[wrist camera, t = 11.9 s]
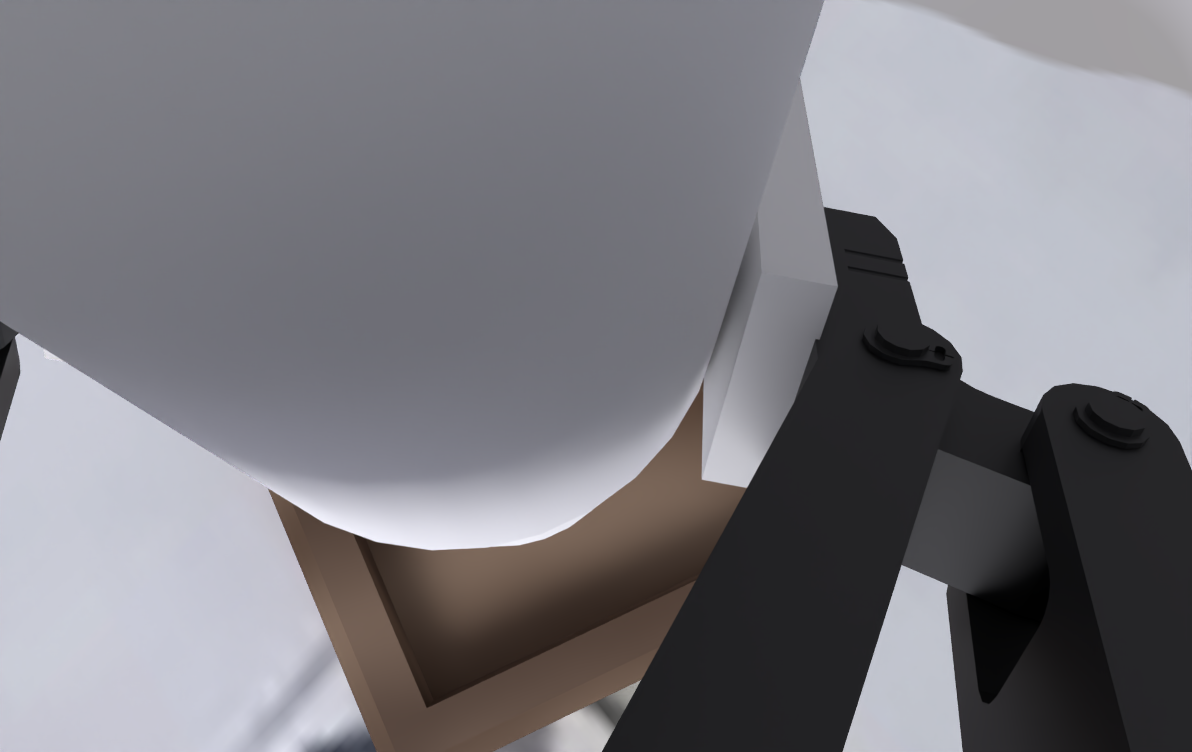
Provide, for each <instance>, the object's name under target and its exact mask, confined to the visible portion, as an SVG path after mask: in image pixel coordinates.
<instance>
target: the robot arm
mask: <svg viewBox="0 0 1192 752" xmlns="http://www.w3.org/2000/svg"><path fill="white" fill-rule="evenodd" d="M902 262H903V258H902V255H901V251H900V248H899V244H898V241H897V238H896V237H895V236H894V235H893V234H892V233H891V232H890V231H889V230H888V229H887V228H886V227H885V226H884V225H883V224H882V223H881V222H880V221H879V220H878V219H877V218H876V217H873V216H868V215H863V214H857V213H852V212H847V211H842V210H836V209H831V208H826V207H823V202H822V196H821V191H820V185H819V180H818V174H817V169H816V163H815V158H814V152H813V147H812V141H811V136H810V130H809V125H808V119H807V114H806V108H805V103H804V97H803V92H802V86H801V81H800V79H799V82H798V85H797V88H796V91H795V94H794V97H793V101H792V104H791V107H790V110H789V113H788V116H787V120H786V123H785V126H784V129H783V132H782V135H781V139H780V142H779V145H778V148H777V151H776V154H775V157H774V161H773V164H772V167H771V170H770V173H769V176H768V180H767V183H766V186H765V189H764V192H763V195H762V199H761V202H760V205H759V208H758V211H757V214H756V217H755V221H754V224H753V227H752V230H751V233H750V236H749V240H748V243H747V246H746V249H745V252H744V255H743V259H742V262H741V265H740V268H739V271H738V274H737V277H736V281H735V284H734V287H733V290H732V293H731V296H730V300H729V303H728V306H727V309H726V312H725V315H724V319H723V322H722V325H721V328H720V331H719V334H718V337H717V340H716V343H715V346H714V349H713V352H712V355H711V358H710V361H709V364H708V367H707V370H706V373H705V375H704V392H703V439H702V480H707V481H712V482H718V483H723V484H728V485H734V486H739V487H745V488H747V489H746V491H745V492H744V494H743V496H742V498H741V500H740V501H739V503H738V505H737V507H736V509H735V511H734V512H733V514H732V516H731V518H730V520H729V521H728V523H727V525H726V527H725V529H724V531H723V532H722V534H721V536H720V538H719V540H718V541H717V543H716V545H715V547H714V549H713V551H712V552H711V554H710V556H709V558H708V560H707V561H706V563H705V565H704V567H703V569H702V571H701V572H700V574H699V576H698V578H697V580H696V582H695V583H694V585H693V587H692V589H691V591H690V592H689V594H688V596H687V598H686V600H685V602H684V603H683V605H682V607H681V609H680V611H679V612H678V614H677V616H676V618H675V620H674V622H673V623H672V625H671V627H670V629H669V631H668V632H667V634H666V636H665V638H664V640H663V642H662V643H661V645H660V647H659V649H658V651H657V652H656V654H655V656H654V658H653V660H652V662H651V663H650V665H649V667H648V669H647V671H646V672H645V674H644V676H643V678H642V680H641V682H640V683H639V685H638V687H637V689H636V691H635V693H634V694H633V696H632V698H631V700H630V702H629V703H628V705H627V707H626V709H625V711H624V713H623V714H622V716H621V718H620V720H619V722H618V723H617V725H616V727H615V729H614V731H613V733H612V734H611V736H610V738H609V740H608V742H607V743H606V745H605V747H604V749H603V751H602V752H843V748H844V745H845V742H846V739H847V736H848V733H849V729H850V726H851V723H852V720H853V717H854V714H855V710H856V707H857V704H858V701H859V698H860V695H861V691H862V688H863V685H864V682H865V679H866V676H867V672H868V669H869V666H870V663H871V660H872V657H873V653H874V650H875V647H876V644H877V641H878V638H879V634H880V631H881V628H882V625H883V622H884V619H885V615H886V612H887V609H888V606H889V603H890V600H891V596H892V593H893V590H894V587H895V584H896V581H897V577H898V574H899V571H900V568H901V565H903V566H906V567H908V568H910V569H913V570H915V571H917V572H920V573H922V574H924V575H927V576H929V577H931V578H934V579H936V580H938V581H941V582H943V583H945V584H948V588H947V593H946V595H947V604H948V614H949V623H950V633H951V643H952V652H953V662H954V671H955V681H956V690H957V700H958V710H959V719H960V729H961V738H962V748H963V752H1192V470H1191V467H1190V465H1189V462H1188V460H1187V458H1186V455H1185V453H1184V451H1183V448H1182V446H1181V444H1180V441H1179V440H1178V439H1177V437H1176V436H1175V434H1174V433H1173V431H1172V430H1171V429H1170V427H1169V426H1168V425H1167V424H1166V423H1165V422H1164V421H1163V420H1161V419H1160V418H1159V417H1158V416H1156V415H1155V414H1154V413H1153V412H1152V411H1150V410H1149V408H1148V407H1146V406H1145V405H1143V404H1142V403H1140V402H1138V401H1137V400H1134V401H1133V400H1131V399H1132V398H1131V397H1129V396H1127V395H1124V394H1122V393H1120V392H1112V391H1109V390H1106V389H1103V388H1100V387H1097V386H1090V385H1082V384H1075V383H1072V384H1066V385H1059V386H1054V387H1053V388H1051V389H1050V390H1049V391H1048V392H1046V393H1045V394H1044V395H1043V397H1042V399H1041V400H1040V402H1039V404H1038V406H1037V408H1036V410H1035V412H1033V411H1030V410H1027V409H1025V408H1022V407H1019V406H1017V405H1014V404H1011V403H1009V402H1006V401H1003V400H1001V399H998V398H995V397H993V396H991V395H988V394H986V393H984V392H982V391H979V390H977V389H975V388H973V387H971V386H970V385H968V384H966V383H965V382H963V381H961V380H960V378H961V375H962V372H963V370H962V358H961V356H960V355H959V353H958V352H957V351H956V349H955V348H954V347H953V345H952V344H951V343H950V342H949V341H948V340H946V339H945V338H944V337H942V336H941V335H940V334H938V333H937V332H936V331H934V330H933V329H931V328H929V327H926V326H924V325H922V323H921V319H920V316H919V313H918V309H917V306H916V302H915V299H914V296H913V292H912V289H911V285H910V282H908V281H907V280H908V275H907V272H906V268H905V265H904V264H902ZM17 334H18V332H16V331H15V330H13V329H12V328H10V327H8V326H7V325H5V324H4V323H2V322H0V440H1V437H2V433H3V430H4V426H5V423H6V420H7V416H8V413H9V409H10V406H11V403H12V399H13V396H14V392H15V389H16V386H17V382H18V379H19V375H20V361H19V355H18V350H17V345H16V340H15V336H16V335H17ZM43 351H44V356H45V359H51V360H56V361H62V362H65V361H63V360H61V359H60V358H58V357H57V356H55V355H53V354H52V353H50V352H49V351H47V350H45V349H44V348H43Z"/></svg>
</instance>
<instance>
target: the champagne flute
mask: <svg viewBox="0 0 1192 752" xmlns="http://www.w3.org/2000/svg"><path fill="white" fill-rule="evenodd" d="M823 3H824V0H0V322H2V323H4V324H5V325H7V326H8V327H10V328H12V329H13V330H15V331H16V332H18V333H20V334H21V335H23V336H25V337H26V338H28V339H29V340H31V341H33V342H34V343H36V344H37V345H39V346H41V347H42V348H44V349H45V350H47V351H49V352H50V353H52V354H53V355H55V356H57V357H58V358H60V359H61V360H63V361H65V362H66V363H68V364H69V365H71V366H73V367H74V368H76V369H77V370H79V371H81V372H82V373H84V374H86V375H87V376H89V377H90V378H92V379H94V380H95V381H97V382H98V383H100V384H102V385H103V386H105V387H106V388H108V389H110V390H111V391H113V392H114V393H116V394H118V395H119V396H121V397H122V398H124V399H126V400H127V401H129V402H130V403H132V404H134V405H135V406H137V407H138V408H140V409H142V410H143V411H145V412H147V413H148V414H150V415H151V416H153V417H155V418H156V419H158V420H159V421H161V422H163V423H164V424H166V425H167V426H169V427H171V428H172V429H174V430H175V431H177V432H179V433H180V434H182V435H183V436H185V437H187V438H188V439H190V440H191V441H193V442H195V443H196V444H198V445H199V446H201V447H203V448H204V449H206V450H208V451H209V452H211V453H212V454H214V455H216V456H217V457H219V458H220V459H222V460H224V461H225V462H227V463H228V464H230V465H232V466H233V467H235V468H236V469H238V470H240V471H241V472H243V473H244V474H246V475H248V476H249V477H251V478H252V479H254V480H256V481H257V482H259V483H260V484H262V485H264V486H265V487H267V488H268V489H270V490H272V491H273V492H275V493H277V494H278V495H280V496H281V497H283V498H285V499H286V500H288V501H289V502H291V503H293V504H294V505H296V506H298V507H299V508H301V509H302V510H304V511H306V512H307V513H309V514H311V515H312V516H314V517H315V518H317V519H319V520H320V521H322V522H324V523H326V524H329V525H331V526H334V527H337V528H340V529H342V530H345V531H348V532H351V533H353V534H356V535H359V536H361V537H364V538H367V539H370V540H372V541H375V542H380V543H387V544H393V545H400V546H406V547H413V548H420V549H426V550H448V549H469V548H488V547H497V546H518V545H523V544H527V543H531V542H535V541H538V540H542V539H546V538H548V537H550V536H552V535H554V534H556V533H558V532H561V531H563V530H565V529H567V528H569V527H571V526H572V525H573V524H575V523H576V522H577V521H579V520H580V519H581V518H583V517H584V516H585V515H587V514H588V513H589V512H591V511H592V510H593V509H594V508H596V507H597V506H598V505H600V504H601V503H602V502H604V501H605V500H606V499H608V498H609V497H610V496H612V495H613V494H614V493H616V492H617V491H618V490H620V489H621V488H622V487H624V486H625V485H626V484H628V483H629V482H630V481H632V480H633V479H635V478H636V477H637V476H638V474H639V473H640V472H641V471H642V470H643V469H644V468H645V467H646V466H647V464H648V463H649V462H650V461H651V460H652V459H653V458H654V457H655V456H656V454H657V453H658V452H659V451H660V450H661V449H662V448H663V447H664V446H665V444H666V443H667V442H668V441H669V440H670V439H671V438H672V436H673V435H674V433H675V431H676V430H677V428H678V426H679V424H680V423H681V421H682V419H683V418H684V416H685V414H686V413H687V411H688V409H689V408H690V406H691V404H692V402H693V401H694V399H695V397H696V396H697V394H698V392H699V390H700V387H701V384H702V381H703V378H704V375H705V373H706V370H707V367H708V364H709V361H710V358H711V355H712V352H713V349H714V346H715V343H716V340H717V337H718V334H719V331H720V328H721V325H722V322H723V319H724V315H725V312H726V309H727V306H728V303H729V300H730V296H731V293H732V290H733V287H734V284H735V281H736V277H737V274H738V271H739V268H740V265H741V262H742V259H743V255H744V252H745V249H746V246H747V243H748V240H749V236H750V233H751V230H752V227H753V224H754V221H755V217H756V214H757V211H758V208H759V205H760V202H761V199H762V195H763V192H764V189H765V186H766V183H767V180H768V176H769V173H770V170H771V167H772V164H773V161H774V157H775V154H776V151H777V148H778V145H779V142H780V139H781V135H782V132H783V129H784V126H785V123H786V120H787V116H788V113H789V110H790V107H791V104H792V101H793V97H794V94H795V91H796V88H797V85H798V82H799V79H800V75H801V72H802V69H803V66H804V63H805V60H806V56H807V53H808V50H809V47H810V44H811V41H812V38H813V34H814V31H815V28H816V25H817V22H818V19H819V15H820V12H821V9H822V6H823Z"/></svg>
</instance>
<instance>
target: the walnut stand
mask: <svg viewBox="0 0 1192 752" xmlns="http://www.w3.org/2000/svg"><path fill="white" fill-rule="evenodd" d="M703 392H704V378H703V381H702V384H701V387H700V390H699V392H698V394H697V396H696V397H695V399H694V401H693V402H692V404H691V406H690V408H689V409H688V411H687V413H686V414H685V416H684V418H683V419H682V421H681V423H680V424H679V426H678V428H677V430H676V431H675V433H674V435H673V436H672V438H671V439H670V440H669V441H668V442H667V443H666V444H665V446H664V447H663V448H662V449H661V450H660V451H659V452H658V453H657V454H656V456H655V457H654V458H653V459H652V460H651V461H650V462H649V463H648V464H647V466H646V467H645V468H644V469H643V470H642V471H641V472H640V473H639V474H638V476H637V477H636V478H635V479H633V480H632V481H630V482H629V483H628V484H626V485H625V486H624V487H622V488H621V489H620V490H618V491H617V492H616V493H614V494H613V495H612V496H610V497H609V498H608V499H606V500H605V501H604V502H602V503H601V504H600V505H598V506H597V507H596V508H594V509H593V510H592V511H591V512H589V513H588V514H587V515H585V516H584V517H583V518H581V519H580V520H579V521H577V522H576V523H575V524H573V525H572V526H571V527H569V528H567V529H565V530H563V531H561V532H558V533H556V534H554V535H552V536H550V537H548V538H546V539H542V540H538V541H535V542H531V543H527V544H523V545H518V546H497V547H488V548H469V549H448V550H426V549H420V548H413V547H406V546H400V545H393V544H387V543H380V542H375V541H372V540H370V539H367V538H364V537H361V536H359V535H356V534H353V533H351V532H348V531H345V530H342V529H340V528H337V527H334V526H331V525H329V524H326V523H324V522H322V521H320V520H319V519H317V518H315V517H314V516H312V515H311V514H309V513H307V512H306V511H304V510H302V509H301V508H299V507H298V506H296V505H294V504H293V503H291V502H289V501H288V500H286V499H285V498H283V497H281V496H280V495H278V494H277V493H275V492H273V491H272V490H270V489H268V490H269V492H270V494H271V497H272V499H273V502H274V504H275V507H276V509H277V511H278V514H279V516H280V519H281V521H282V524H283V526H284V528H285V531H286V533H287V536H288V538H289V540H290V543H291V545H292V548H293V550H294V553H295V555H296V557H297V560H298V562H299V565H300V567H301V569H302V572H303V574H304V577H305V579H306V582H307V584H308V586H309V589H310V591H311V594H312V596H313V599H314V601H315V603H316V606H317V608H318V611H319V613H320V615H321V618H322V620H323V623H324V625H325V628H326V630H327V632H328V635H329V637H330V640H331V642H332V644H333V647H334V649H335V652H336V654H337V657H338V659H339V661H340V664H341V666H342V669H343V671H344V674H345V676H346V678H347V681H348V683H349V686H350V688H351V690H352V693H353V695H354V698H355V700H356V703H357V705H358V707H359V710H360V712H361V715H362V717H363V720H364V722H365V724H366V727H367V729H368V732H369V734H370V736H371V739H372V741H373V744H374V746H375V749H376V751H377V752H493V751H495V750H497V749H499V748H501V747H503V746H505V745H507V744H509V743H511V742H513V741H515V740H517V739H520V738H522V737H524V736H526V735H528V734H530V733H532V732H534V731H536V730H538V729H540V728H542V727H544V726H546V725H549V724H551V723H553V722H555V721H557V720H559V719H561V718H563V717H565V716H567V715H569V714H571V713H573V712H575V711H577V710H580V709H582V708H584V707H586V706H588V705H590V704H592V703H594V702H596V701H598V700H600V699H602V698H604V697H606V696H609V695H611V694H613V693H615V692H617V691H619V690H621V689H623V688H625V687H627V686H629V685H631V684H633V683H635V682H637V681H640V680H642V678H643V676H644V674H645V672H646V671H647V669H648V667H649V665H650V663H651V662H652V660H653V658H654V656H655V654H656V652H657V651H658V649H659V647H660V645H661V643H662V642H663V640H664V638H665V636H666V634H667V632H668V631H669V629H670V627H671V625H672V623H673V622H674V620H675V618H676V616H677V614H678V612H679V611H680V609H681V607H682V605H683V603H684V602H685V600H686V598H687V596H688V594H689V592H690V591H691V589H692V587H693V585H694V583H695V582H696V580H697V578H698V576H699V574H700V572H701V571H702V569H703V567H704V565H705V563H706V561H707V560H708V558H709V556H710V554H711V552H712V551H713V549H714V547H715V545H716V543H717V541H718V540H719V538H720V536H721V534H722V532H723V531H724V529H725V527H726V525H727V523H728V521H729V520H730V518H731V516H732V514H733V512H734V511H735V509H736V507H737V505H738V503H739V501H740V500H741V498H742V496H743V494H744V492H745V491H746V489H747V488H745V487H739V486H734V485H728V484H723V483H718V482H712V481H707V480H702V439H703Z"/></svg>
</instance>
